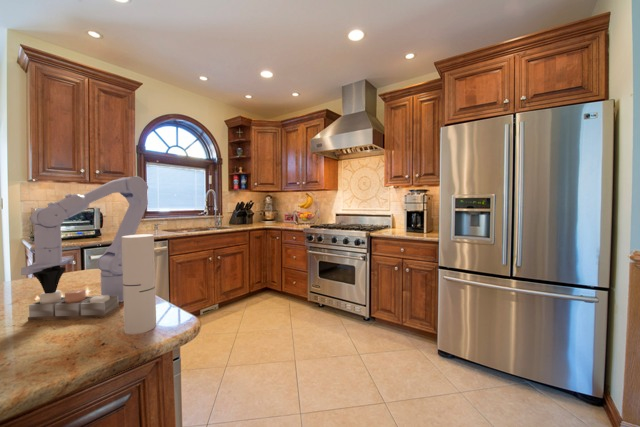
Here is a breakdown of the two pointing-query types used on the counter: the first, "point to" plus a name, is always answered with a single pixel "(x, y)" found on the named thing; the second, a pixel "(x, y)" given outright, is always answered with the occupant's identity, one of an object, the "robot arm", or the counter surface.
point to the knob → (99, 298)
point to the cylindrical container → (138, 283)
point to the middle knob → (75, 296)
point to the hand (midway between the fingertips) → (50, 292)
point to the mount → (73, 309)
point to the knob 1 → (50, 297)
